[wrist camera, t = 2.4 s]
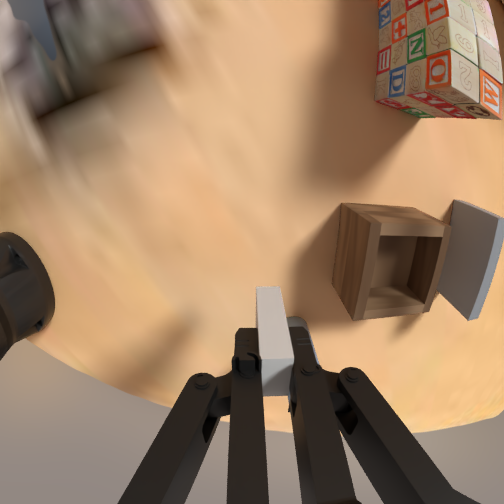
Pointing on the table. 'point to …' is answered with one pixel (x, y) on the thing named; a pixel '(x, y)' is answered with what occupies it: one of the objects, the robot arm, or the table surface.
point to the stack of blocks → (439, 59)
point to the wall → (470, 257)
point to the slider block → (388, 260)
